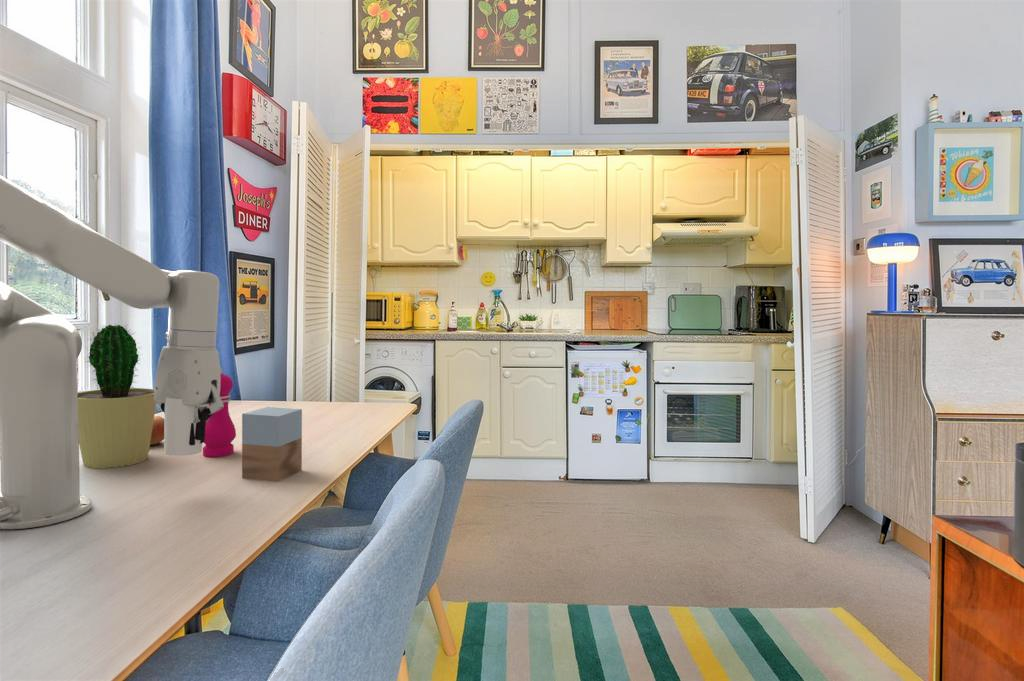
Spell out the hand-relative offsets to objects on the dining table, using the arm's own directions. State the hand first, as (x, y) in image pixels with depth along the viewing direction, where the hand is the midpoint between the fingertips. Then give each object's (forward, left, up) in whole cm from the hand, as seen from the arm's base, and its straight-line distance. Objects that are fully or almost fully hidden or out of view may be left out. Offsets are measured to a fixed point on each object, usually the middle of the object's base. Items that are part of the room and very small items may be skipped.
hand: (185, 441), depth 98 cm
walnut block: (+15, -7, -10) cm, 19 cm away
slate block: (+15, -7, -3) cm, 17 cm away
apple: (+27, +35, -10) cm, 45 cm away
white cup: (0, 0, -2) cm, 2 cm away
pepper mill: (+25, +14, -10) cm, 30 cm away
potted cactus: (+14, +30, -10) cm, 35 cm away
